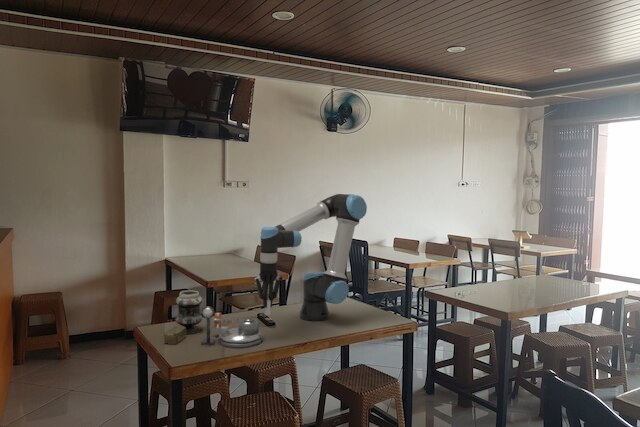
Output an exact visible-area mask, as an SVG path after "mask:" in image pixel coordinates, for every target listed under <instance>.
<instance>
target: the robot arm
mask: <svg viewBox="0 0 640 427" xmlns="http://www.w3.org/2000/svg"><path fill="white" fill-rule="evenodd" d="M367 208H368V206H367V202H366V201H365V199H364V198H363V197H362V195H361V196H360V195H358V194H354V193H353V194H352V193H351V194H343V193H337V194H333V195H330V196H328V197H326V198H324V199H322V200H320V201H318V202H317V203H316V205H315V206H313V207H311V208H309V209H307V210H305V211H303V212H301V213H299V214H297V215H296V216H294V217H291V218H289V219H287V220H286V221H283V222H282V223H280V224H278V225H276V226H263V227H262V228H261V231H260V251H259V252H260V254H259V255H260V256H259V258H260V263H259V274H258V276H256V277H254V278H253V280H254V282H255V285H256V289H257V293H258V298H259V299H260V300H262V302H263V304H262V306H263V308H264V315H266V316H271V308H272V307H273V301H274V299H277V296H278V292H279V289H280V285H281V281H282V280H283V277H282V276H281V275H279V274H278V262H277V261H278V253H279V252H278V251H279V250H278V249H280V248H284V249H285V248H296V247H299V246H300V245H301V243H302V241H303V240H302V234H301V231H302V230H305V229H307V228H308V227H311V226H312V225H314V224H316V223H319V221H322V220H328V219H331V218H335V220H336V222H337V227H336V231H335V235H334V240H333V244H332V247H331V253H330V256H329V261H328V262H329V263H328V266H327V270H326V271H312V272H306V273H305V274H304V276H303V280H302V281H303V303H302V305H301V308H300V311H299V318H300V319H302V320H305V321H310V322H314V321H316V322H319V321H325V320H328V319H330V310H329V308H328V304H334V305H338V304H342V303H343V302H344V301H345V300H346V299H347V297H348V295H349V291H350V287H349V285H348V283H347V276H346V275H345V274H346V269H347V268H346V267H347V264H348V260H349V255H350V251H351V247H352V242H353V236H354V232H355V227H356V226H358V225H359V224H360V221H361V219H363V218H364V217H365V216H366V214H367ZM261 281H262V283H261ZM274 281H275V283H274ZM327 303H328V304H327Z"/></svg>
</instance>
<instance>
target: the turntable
mask: <svg viewBox="0 0 640 427" xmlns="http://www.w3.org/2000/svg"><path fill="white" fill-rule="evenodd" d="M213 316H214V317H213V319H221V320H213V322H214V324H213V325H214V326H213V327H212V331H217V332H220V333H219V334H218V337H219V338H220V340H222V341H224V342H228V343H248V342H253V341H256V340H258V339H260V338H261V335H262V332H261V331H260V330H259V333H258V334H255V335H241V334H239V333H238V327H231V328H230V327H229V326H225V325H224V326H223V325H222V312H214V315H213Z"/></svg>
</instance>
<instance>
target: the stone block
mask: <svg viewBox="0 0 640 427" xmlns="http://www.w3.org/2000/svg"><path fill="white" fill-rule="evenodd" d="M186 336H187V334H186V327H184V326H180V325H179V326H178V325H174V326H173V327H170V329H168V330H167V331H165V333H164V334H163V339H164V344H166V343H168V344H167V345H177V344H178V343H180V342H181V341H182V340H183V339H185V338H186ZM180 340H181V341H180ZM179 341H180V342H179Z"/></svg>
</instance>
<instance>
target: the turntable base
mask: <svg viewBox="0 0 640 427" xmlns="http://www.w3.org/2000/svg"><path fill="white" fill-rule="evenodd" d="M217 342H218V344H219V345H220V346H222V347H225V348H230V349H246V348H251V347H256V346H259V345H260V344H261V343H263V334H261V338H260V339H258V340H256V341H253V342H248V343H228V342H224V341H222V340H220V338H219V336H218V337H217Z"/></svg>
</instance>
